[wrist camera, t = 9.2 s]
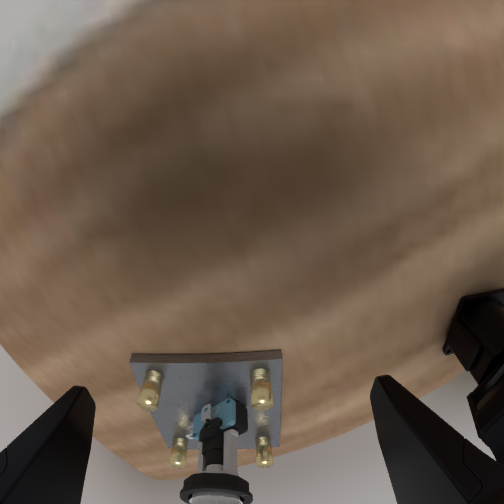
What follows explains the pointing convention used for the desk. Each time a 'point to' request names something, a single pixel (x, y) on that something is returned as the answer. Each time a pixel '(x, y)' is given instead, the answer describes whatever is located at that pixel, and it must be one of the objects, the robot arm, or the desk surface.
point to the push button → (217, 456)
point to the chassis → (212, 396)
